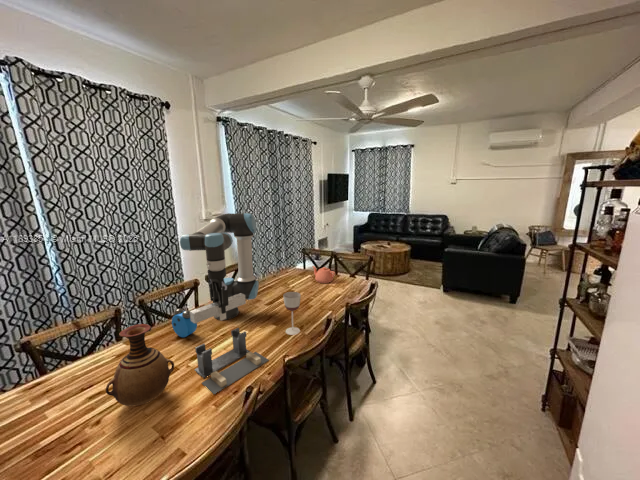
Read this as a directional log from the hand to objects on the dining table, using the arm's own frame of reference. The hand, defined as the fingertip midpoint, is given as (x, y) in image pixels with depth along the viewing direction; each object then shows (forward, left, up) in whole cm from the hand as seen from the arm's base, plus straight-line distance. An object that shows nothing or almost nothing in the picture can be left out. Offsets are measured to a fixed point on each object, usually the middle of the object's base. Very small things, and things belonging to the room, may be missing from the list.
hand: (220, 317), depth 124 cm
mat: (+10, 0, -23) cm, 25 cm away
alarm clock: (-38, -1, -23) cm, 44 cm away
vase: (-3, -32, -23) cm, 40 cm away
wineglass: (+5, +40, -23) cm, 46 cm away
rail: (0, 0, +3) cm, 3 cm away
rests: (+10, 0, -23) cm, 25 cm away
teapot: (-32, +114, -23) cm, 121 cm away
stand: (-1, 0, -23) cm, 23 cm away
